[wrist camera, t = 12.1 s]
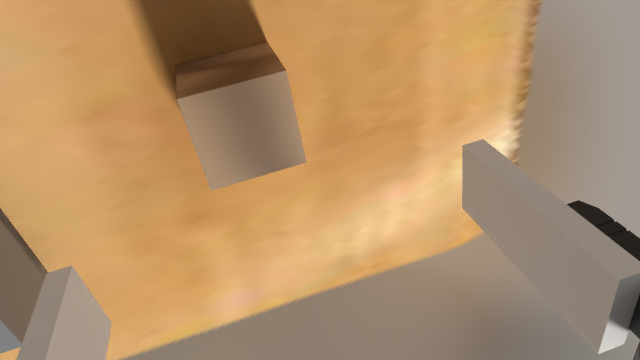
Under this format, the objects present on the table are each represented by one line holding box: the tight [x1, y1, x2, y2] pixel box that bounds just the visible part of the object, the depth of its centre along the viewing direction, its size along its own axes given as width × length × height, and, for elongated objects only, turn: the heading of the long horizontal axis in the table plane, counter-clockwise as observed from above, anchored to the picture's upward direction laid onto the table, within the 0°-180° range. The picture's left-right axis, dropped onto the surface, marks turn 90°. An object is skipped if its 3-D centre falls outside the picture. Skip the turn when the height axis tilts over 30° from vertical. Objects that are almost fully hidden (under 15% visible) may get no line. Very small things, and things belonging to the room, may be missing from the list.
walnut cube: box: [176, 42, 306, 190], centre depth 23 cm, size 5×5×5 cm
